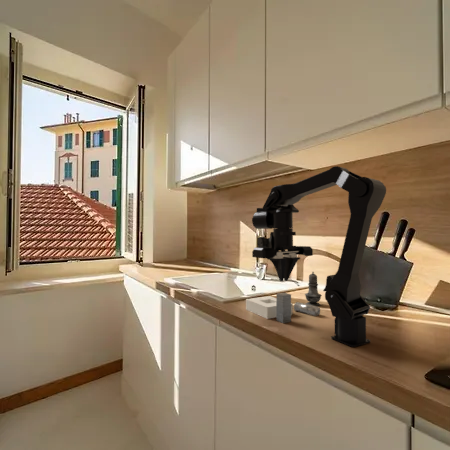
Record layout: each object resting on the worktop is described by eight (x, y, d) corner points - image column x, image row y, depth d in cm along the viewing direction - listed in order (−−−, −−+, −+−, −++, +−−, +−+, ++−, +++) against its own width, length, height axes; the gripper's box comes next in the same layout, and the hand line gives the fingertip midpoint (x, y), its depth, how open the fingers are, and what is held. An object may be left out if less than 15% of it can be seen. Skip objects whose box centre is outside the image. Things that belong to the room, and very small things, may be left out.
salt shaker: (316, 307, 102) (316, 273, 102) (301, 304, 106) (301, 271, 107) (324, 304, 106) (324, 271, 107) (309, 301, 111) (309, 269, 111)
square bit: (291, 321, 86) (290, 294, 87) (283, 323, 85) (283, 295, 85) (284, 319, 89) (284, 292, 89) (276, 320, 88) (276, 293, 88)
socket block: (292, 314, 94) (292, 303, 94) (267, 318, 89) (267, 307, 89) (269, 305, 104) (269, 296, 105) (245, 309, 100) (245, 299, 100)
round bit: (316, 318, 92) (321, 311, 94) (313, 312, 91) (317, 304, 93) (296, 312, 99) (300, 306, 100) (292, 306, 98) (296, 300, 99)
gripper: (289, 229, 99) (289, 275, 99) (242, 229, 91) (242, 279, 90) (313, 228, 90) (314, 279, 89) (263, 228, 81) (264, 285, 80)
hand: (283, 281), depth 87 cm, fingers closed
